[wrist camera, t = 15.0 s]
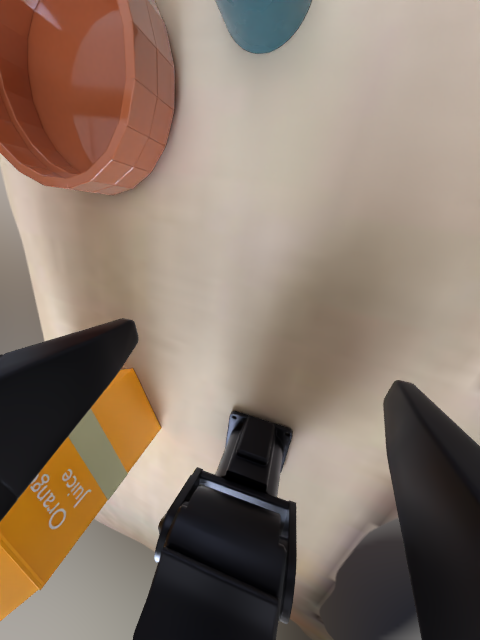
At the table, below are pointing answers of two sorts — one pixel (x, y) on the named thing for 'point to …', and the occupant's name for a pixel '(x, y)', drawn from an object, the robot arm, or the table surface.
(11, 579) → the orange juice
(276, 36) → the can
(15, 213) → the table surface
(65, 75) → the pot
